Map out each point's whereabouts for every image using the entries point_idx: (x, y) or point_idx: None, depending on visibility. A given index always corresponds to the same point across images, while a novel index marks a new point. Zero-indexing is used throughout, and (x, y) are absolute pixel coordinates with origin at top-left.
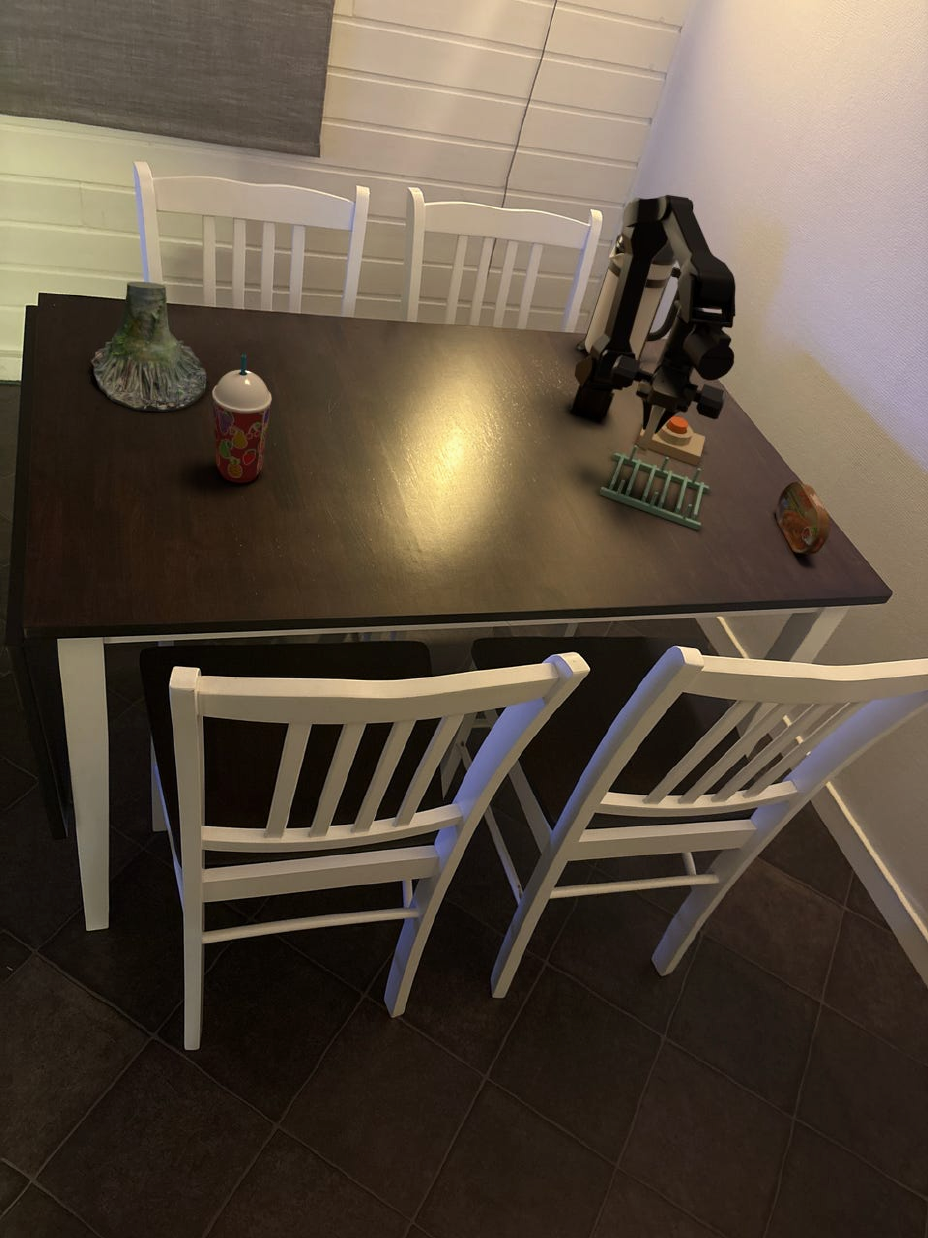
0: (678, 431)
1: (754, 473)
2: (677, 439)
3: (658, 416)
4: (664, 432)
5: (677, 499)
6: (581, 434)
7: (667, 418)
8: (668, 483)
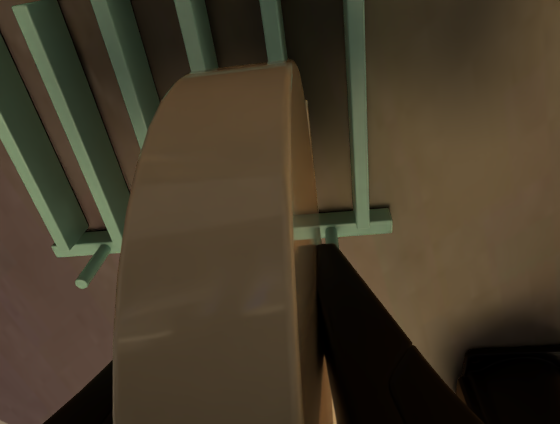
0: None
1: (34, 384)
2: None
3: (151, 313)
4: None
5: (102, 130)
6: (522, 270)
7: (108, 384)
8: None
